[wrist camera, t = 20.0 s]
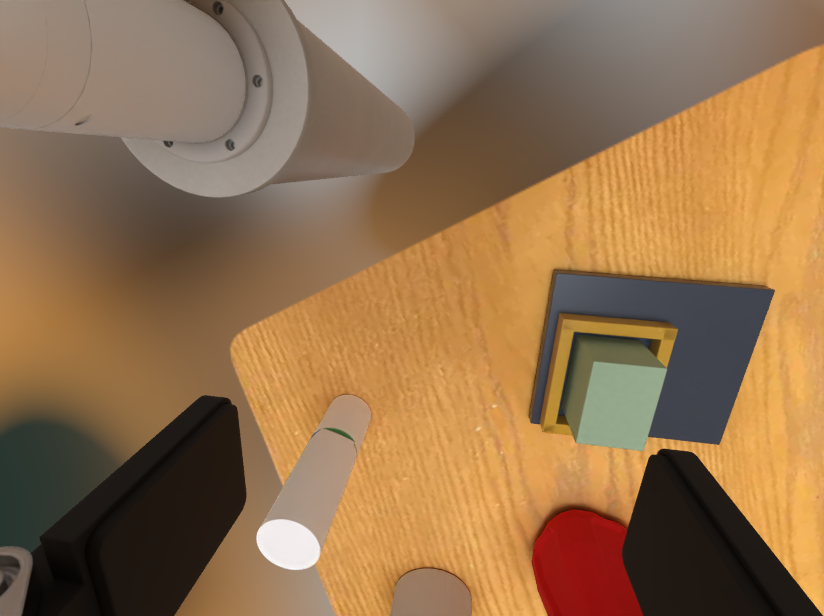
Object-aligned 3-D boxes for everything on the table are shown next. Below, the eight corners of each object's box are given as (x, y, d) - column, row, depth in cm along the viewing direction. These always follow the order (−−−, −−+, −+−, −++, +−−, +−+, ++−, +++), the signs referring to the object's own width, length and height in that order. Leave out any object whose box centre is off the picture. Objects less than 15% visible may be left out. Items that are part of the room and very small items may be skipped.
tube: (378, 425, 41) (331, 563, 27) (340, 436, 42) (275, 574, 28) (360, 389, 40) (301, 512, 26) (321, 401, 41) (244, 526, 27)
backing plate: (528, 415, 38) (533, 433, 36) (553, 269, 34) (560, 277, 31) (711, 436, 37) (730, 456, 34) (764, 285, 32) (790, 296, 29)
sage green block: (620, 413, 36) (644, 451, 31) (561, 407, 36) (575, 443, 32) (639, 340, 33) (668, 368, 29) (576, 334, 34) (593, 361, 29)
